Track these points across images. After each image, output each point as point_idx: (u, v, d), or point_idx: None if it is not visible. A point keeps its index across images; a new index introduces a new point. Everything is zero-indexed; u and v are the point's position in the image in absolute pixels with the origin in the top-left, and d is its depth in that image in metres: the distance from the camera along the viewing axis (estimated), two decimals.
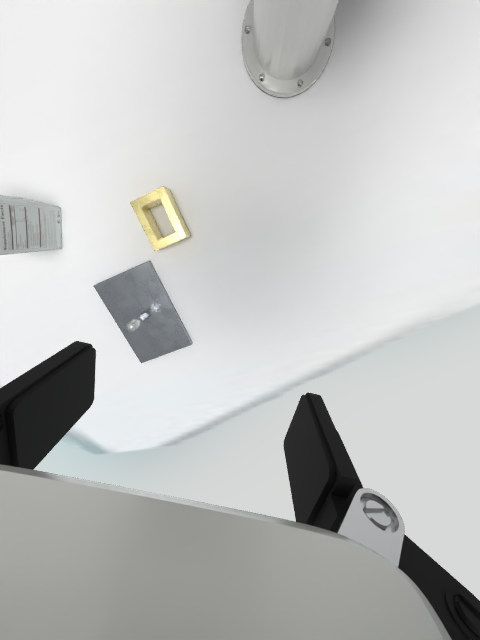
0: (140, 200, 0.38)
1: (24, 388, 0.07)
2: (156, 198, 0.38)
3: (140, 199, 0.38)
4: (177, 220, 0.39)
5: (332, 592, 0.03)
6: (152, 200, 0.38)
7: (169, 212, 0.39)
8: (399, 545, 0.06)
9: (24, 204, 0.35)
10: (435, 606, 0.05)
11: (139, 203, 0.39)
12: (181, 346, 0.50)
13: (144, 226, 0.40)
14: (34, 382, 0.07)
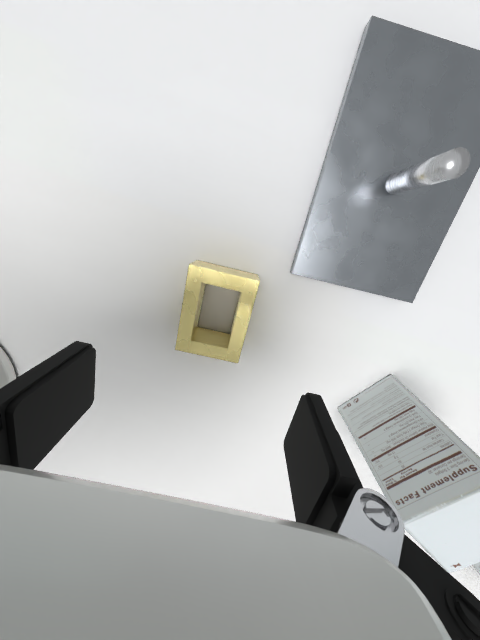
0: (221, 355, 0.23)
1: (24, 388, 0.07)
2: (195, 343, 0.22)
3: (220, 356, 0.23)
4: (185, 296, 0.21)
5: (332, 592, 0.03)
6: (203, 344, 0.22)
7: (190, 314, 0.21)
8: (399, 545, 0.06)
9: (368, 462, 0.21)
10: (435, 606, 0.05)
11: (225, 353, 0.23)
12: (398, 31, 0.17)
13: (244, 324, 0.21)
14: (34, 382, 0.07)
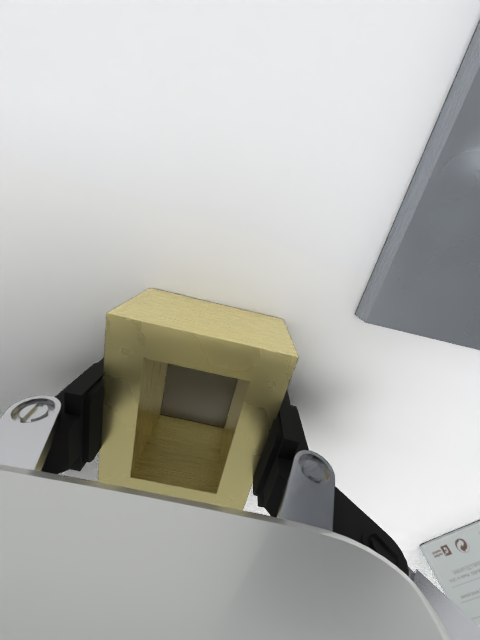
0: None
1: (95, 381, 0.08)
2: (143, 482, 0.10)
3: None
4: (107, 389, 0.08)
5: (332, 592, 0.03)
6: (161, 485, 0.10)
7: (123, 427, 0.09)
8: (332, 492, 0.06)
9: None
10: None
11: (211, 502, 0.10)
12: None
13: (254, 449, 0.09)
14: (101, 376, 0.08)
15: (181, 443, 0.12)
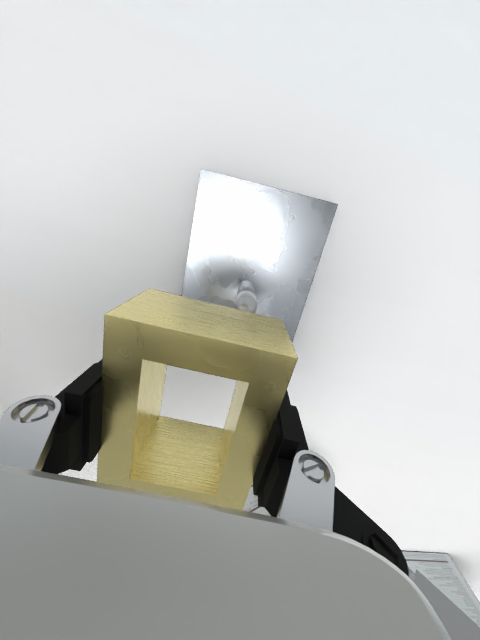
0: None
1: (95, 381, 0.08)
2: (142, 483, 0.10)
3: None
4: (106, 390, 0.08)
5: (332, 592, 0.03)
6: (160, 486, 0.10)
7: (122, 429, 0.09)
8: (332, 492, 0.06)
9: None
10: None
11: None
12: (224, 180, 0.20)
13: (254, 450, 0.09)
14: (101, 376, 0.08)
15: (180, 444, 0.12)
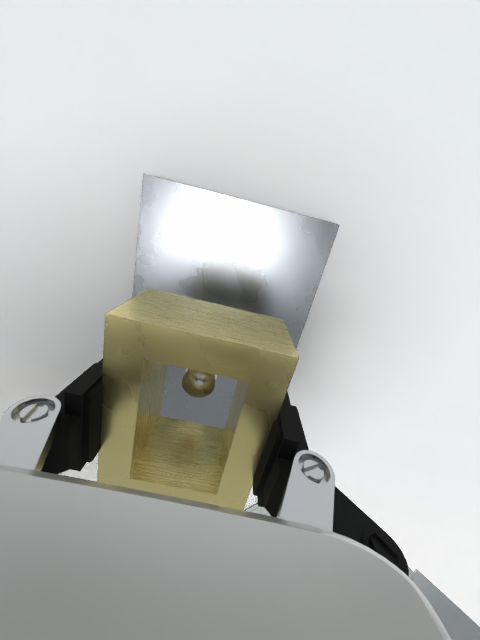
0: None
1: (95, 381, 0.08)
2: (142, 483, 0.10)
3: None
4: (106, 390, 0.08)
5: (332, 592, 0.03)
6: (161, 486, 0.10)
7: (123, 428, 0.09)
8: (332, 492, 0.06)
9: None
10: None
11: None
12: (178, 189, 0.14)
13: (255, 450, 0.09)
14: (101, 376, 0.08)
15: (181, 444, 0.12)
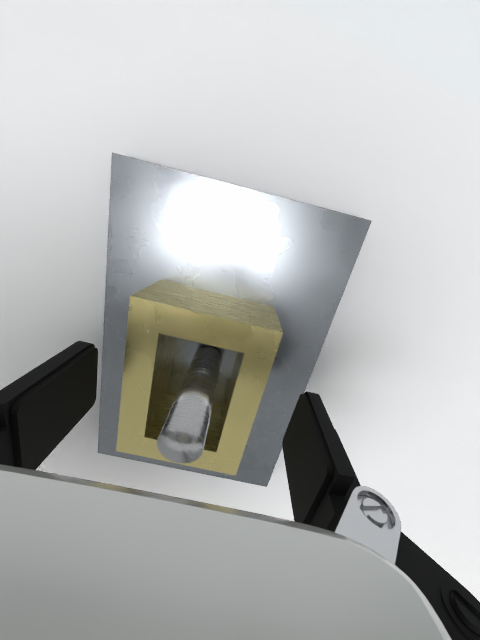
0: (203, 463, 0.12)
1: (27, 388, 0.07)
2: (154, 441, 0.12)
3: (201, 464, 0.12)
4: (128, 359, 0.10)
5: (332, 592, 0.03)
6: None
7: (140, 393, 0.11)
8: (396, 542, 0.06)
9: None
10: (431, 603, 0.05)
11: (212, 460, 0.12)
12: (158, 174, 0.11)
13: (248, 411, 0.11)
14: (37, 382, 0.07)
15: None
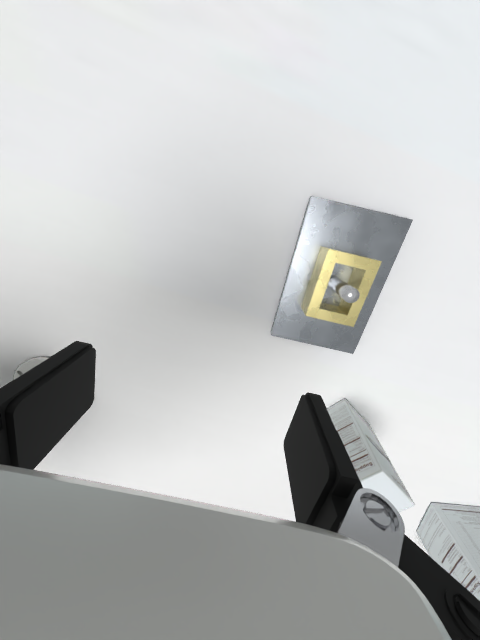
0: (341, 321, 0.29)
1: (24, 388, 0.07)
2: (322, 310, 0.29)
3: (340, 321, 0.29)
4: (321, 273, 0.27)
5: (332, 592, 0.03)
6: (328, 312, 0.29)
7: (322, 288, 0.28)
8: (399, 545, 0.06)
9: None
10: (435, 606, 0.05)
11: (345, 319, 0.29)
12: (328, 203, 0.28)
13: (364, 295, 0.28)
14: (34, 382, 0.07)
15: (326, 306, 0.31)
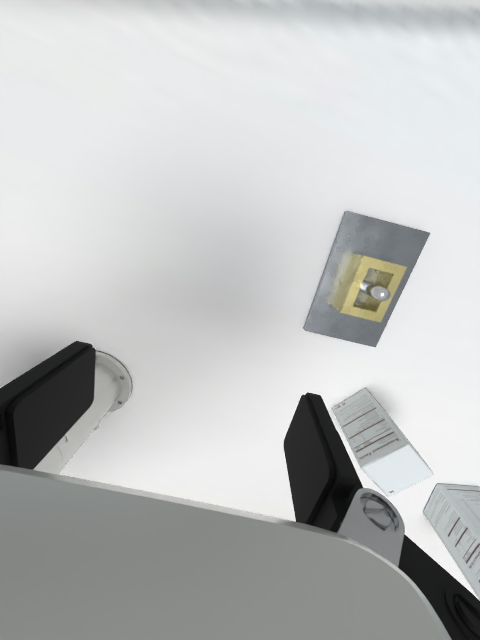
0: (370, 317, 0.34)
1: (24, 388, 0.07)
2: (355, 308, 0.34)
3: (369, 318, 0.34)
4: (356, 276, 0.32)
5: (332, 592, 0.03)
6: (360, 309, 0.34)
7: (356, 288, 0.33)
8: (399, 545, 0.06)
9: (347, 439, 0.38)
10: (435, 606, 0.05)
11: (373, 315, 0.34)
12: (361, 217, 0.33)
13: None
14: (34, 382, 0.07)
15: (356, 305, 0.36)
